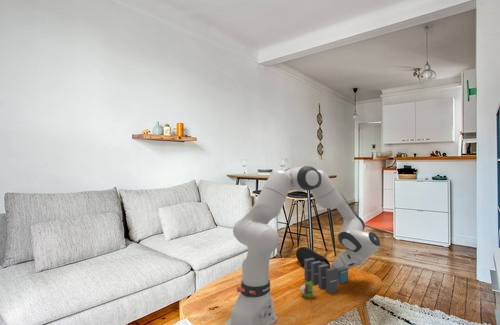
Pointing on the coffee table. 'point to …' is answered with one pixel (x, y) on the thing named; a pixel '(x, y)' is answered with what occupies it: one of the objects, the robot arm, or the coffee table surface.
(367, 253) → the robot arm
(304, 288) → the geometric puzzle
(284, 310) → the coffee table surface
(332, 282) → the domino
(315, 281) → the domino
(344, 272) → the domino
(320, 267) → the domino
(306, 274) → the domino
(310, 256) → the portable speaker
